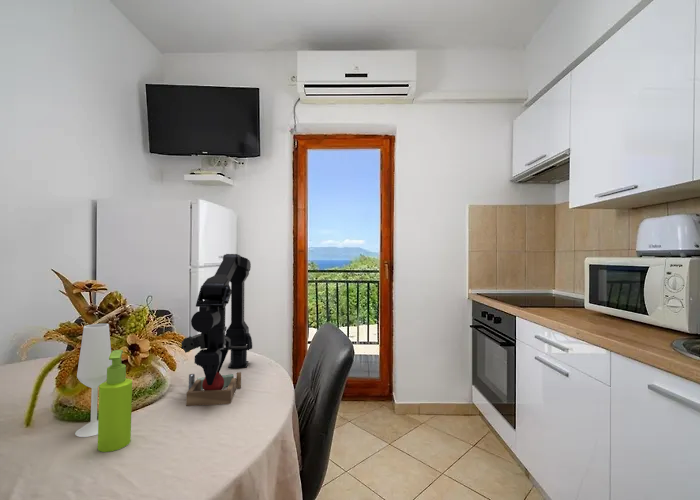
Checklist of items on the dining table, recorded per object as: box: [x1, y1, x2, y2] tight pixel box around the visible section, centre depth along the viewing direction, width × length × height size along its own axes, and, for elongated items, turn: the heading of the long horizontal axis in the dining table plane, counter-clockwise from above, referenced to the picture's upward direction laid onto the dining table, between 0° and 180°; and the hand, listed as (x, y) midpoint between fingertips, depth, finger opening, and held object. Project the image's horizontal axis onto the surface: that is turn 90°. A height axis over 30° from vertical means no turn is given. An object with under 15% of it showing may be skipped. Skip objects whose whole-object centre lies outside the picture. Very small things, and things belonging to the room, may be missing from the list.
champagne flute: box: [74, 323, 112, 438], centre depth 81 cm, size 7×7×24 cm
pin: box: [188, 373, 196, 390], centre depth 105 cm, size 2×2×4 cm
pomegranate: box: [202, 372, 224, 391], centre depth 100 cm, size 6×6×8 cm
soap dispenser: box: [97, 349, 133, 453], centre depth 74 cm, size 6×7×20 cm
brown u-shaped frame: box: [185, 371, 242, 407], centre depth 101 cm, size 12×13×4 cm
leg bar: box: [196, 373, 235, 391], centre depth 107 cm, size 10×2×3 cm, turn 112°
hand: (213, 379), depth 100 cm, fingers open, 9 cm apart
